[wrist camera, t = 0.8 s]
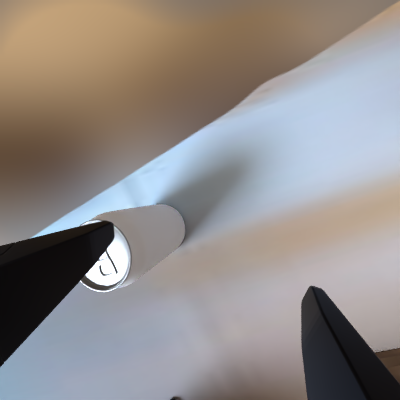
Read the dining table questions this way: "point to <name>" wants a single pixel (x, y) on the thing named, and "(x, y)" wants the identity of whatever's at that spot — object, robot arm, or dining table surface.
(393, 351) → the chute
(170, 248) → the can
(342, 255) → the dining table surface
